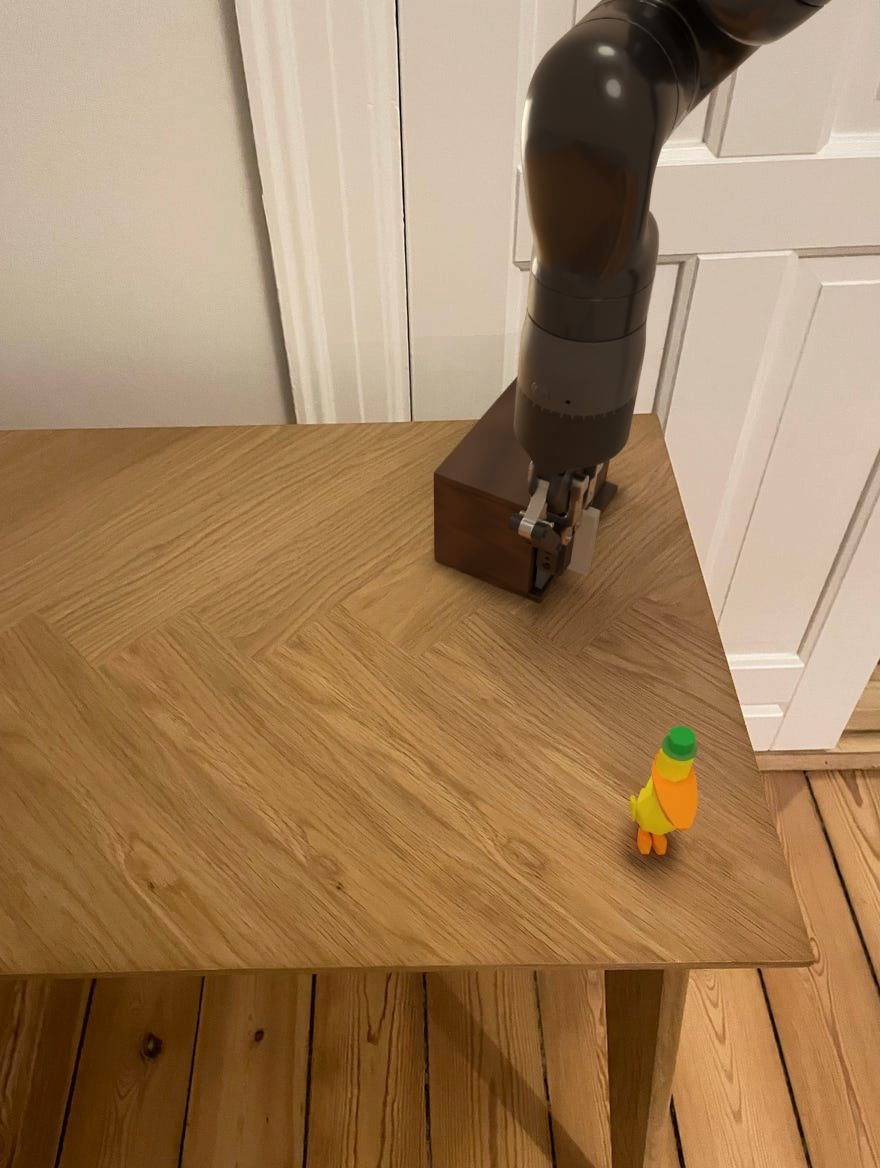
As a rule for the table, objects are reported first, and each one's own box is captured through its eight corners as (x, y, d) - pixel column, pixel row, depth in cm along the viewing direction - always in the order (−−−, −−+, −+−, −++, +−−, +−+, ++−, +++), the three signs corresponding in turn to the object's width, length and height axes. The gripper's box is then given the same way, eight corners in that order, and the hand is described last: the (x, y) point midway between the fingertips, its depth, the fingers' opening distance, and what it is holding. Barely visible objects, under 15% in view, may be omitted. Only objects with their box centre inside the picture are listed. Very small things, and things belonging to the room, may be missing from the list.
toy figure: (685, 890, 64) (726, 797, 55) (631, 890, 65) (662, 798, 55) (669, 800, 69) (704, 701, 59) (618, 801, 69) (645, 701, 60)
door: (612, 545, 84) (626, 470, 77) (574, 602, 79) (586, 528, 73) (573, 530, 85) (584, 455, 78) (534, 586, 81) (543, 512, 74)
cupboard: (617, 491, 89) (634, 399, 81) (539, 604, 81) (550, 514, 73) (518, 455, 93) (525, 364, 85) (434, 560, 84) (433, 470, 77)
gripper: (589, 453, 55) (560, 645, 69) (675, 336, 62) (633, 531, 76) (474, 414, 58) (467, 605, 71) (568, 306, 65) (546, 499, 79)
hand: (552, 566), depth 74 cm, fingers closed
